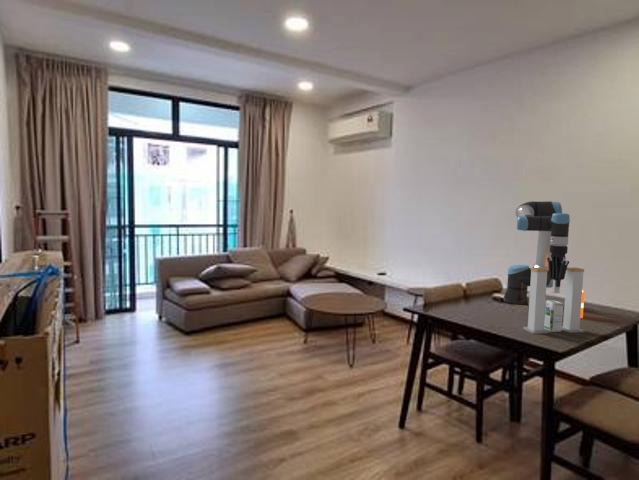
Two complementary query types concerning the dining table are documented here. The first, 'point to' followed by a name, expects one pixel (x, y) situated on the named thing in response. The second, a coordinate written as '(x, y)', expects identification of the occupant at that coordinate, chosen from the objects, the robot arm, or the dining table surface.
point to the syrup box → (553, 316)
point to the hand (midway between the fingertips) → (555, 292)
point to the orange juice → (582, 304)
